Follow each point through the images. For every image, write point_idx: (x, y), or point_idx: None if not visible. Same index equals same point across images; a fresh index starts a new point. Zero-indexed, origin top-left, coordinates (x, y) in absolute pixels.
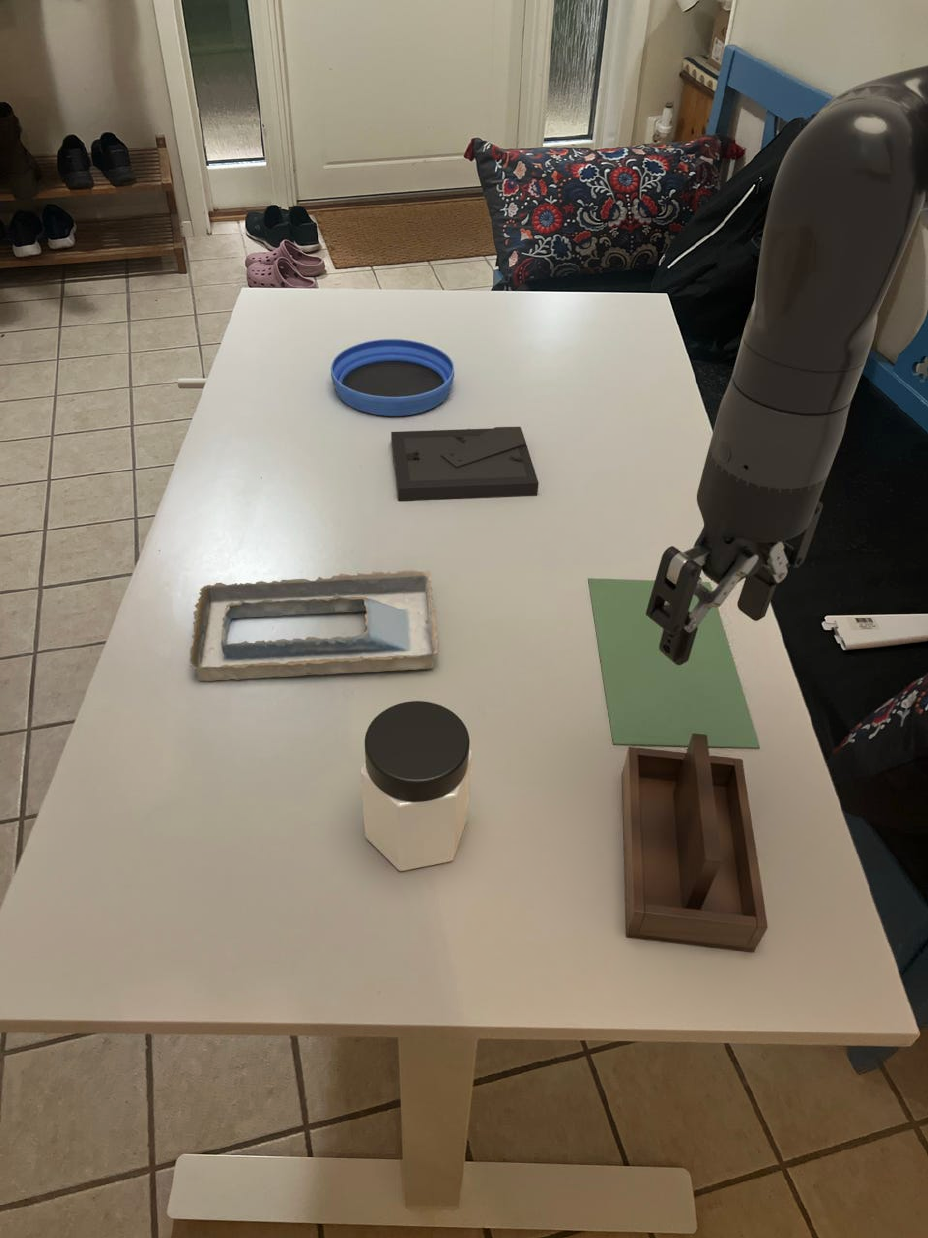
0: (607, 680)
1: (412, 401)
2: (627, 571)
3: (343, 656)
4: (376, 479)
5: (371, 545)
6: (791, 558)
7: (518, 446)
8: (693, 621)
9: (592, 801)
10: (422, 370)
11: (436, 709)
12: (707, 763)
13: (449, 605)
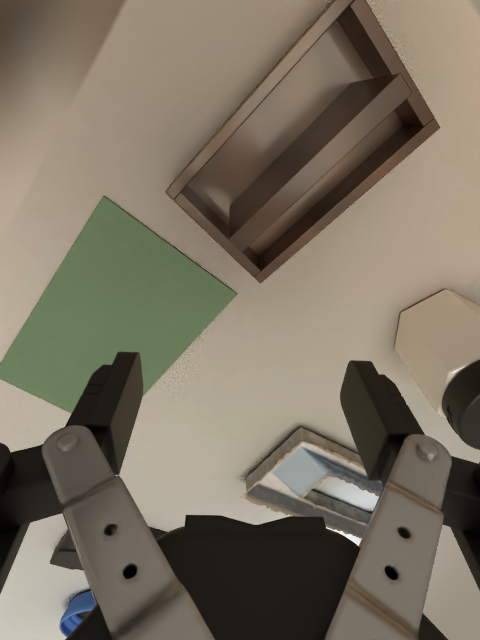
0: (183, 346)
1: None
2: (67, 420)
3: (342, 463)
4: None
5: (242, 520)
6: (5, 483)
7: (67, 550)
8: (440, 466)
9: (304, 259)
10: (82, 613)
11: (467, 430)
12: (267, 206)
13: (237, 461)
